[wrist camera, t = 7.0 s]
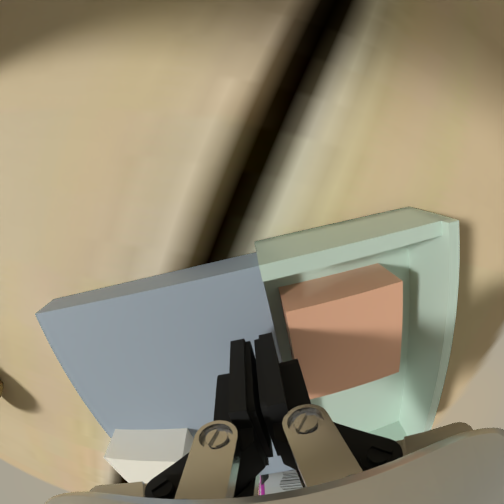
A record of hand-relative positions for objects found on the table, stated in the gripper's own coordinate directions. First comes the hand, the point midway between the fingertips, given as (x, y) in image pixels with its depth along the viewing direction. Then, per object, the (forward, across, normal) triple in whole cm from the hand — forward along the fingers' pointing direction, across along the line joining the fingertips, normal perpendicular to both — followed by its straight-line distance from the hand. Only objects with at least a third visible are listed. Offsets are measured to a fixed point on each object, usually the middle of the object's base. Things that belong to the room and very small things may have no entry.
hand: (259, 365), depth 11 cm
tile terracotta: (+3, -4, 0) cm, 5 cm away
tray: (+3, -5, +4) cm, 7 cm away
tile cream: (+1, +8, +7) cm, 11 cm away
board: (+3, +5, +4) cm, 7 cm away
